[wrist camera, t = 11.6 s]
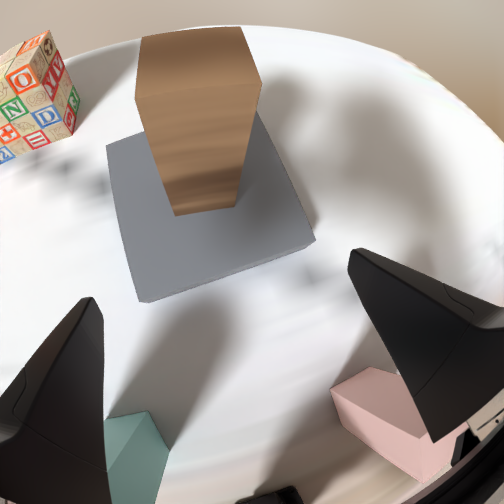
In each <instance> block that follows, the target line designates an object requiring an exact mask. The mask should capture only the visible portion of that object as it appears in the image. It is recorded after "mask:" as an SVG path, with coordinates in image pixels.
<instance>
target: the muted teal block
mask: <svg viewBox="0 0 504 504" xmlns="http://www.w3.org/2000/svg"><path fill="white" fill-rule="evenodd" d="M104 441H105V454H106V465H107V472H108V480H109V487H110V493H111V499H112V504H155V501H156V497H157V494H158V490H159V487H160V483H161V480H162V476H163V473H164V469H165V466H166V462H167V459H168V456H169V452H170V451H169V449H168V448H167V446H166V444H165V442H164V441H163V439H162V437H161V435H160V433H159V431H158V430H157V428H156V426H155V424H154V422H153V420H152V418H151V416H150V414H149V412H148V411H144V412H139V413H135V414H130V415H125V416H120V417H115V418H109V419H106V420H105V421H104Z"/></svg>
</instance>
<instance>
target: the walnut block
mask: <svg viewBox="0 0 504 504" xmlns="http://www.w3.org/2000/svg"><path fill="white" fill-rule="evenodd" d="M261 87H262V82H261V79H260V76H259V73H258V71H257V68H256V65H255V63H254V60H253V57H252V55H251V52H250V49H249V47H248V44H247V42H246V39H245V37H244V34H243V32H242V29H241V27H214V28H201V29H190V30H182V31H175V32H168V33H162V34H156V35H151V36H146V37H142V40H141V47H140V53H139V61H138V69H137V78H136V89H135V102H136V105H137V108H138V112H139V115H140V118H141V121H142V124H143V128H144V131H145V134H146V137H147V140H148V143H149V146H150V149H151V152H152V155H153V158H154V160H155V163H156V166H157V169H158V172H159V175H160V177H161V180H162V183H163V186H164V188H165V191H166V194H167V196H168V199H169V202H170V204H171V207H172V210H173V212H174V215H175V217H176V216H182V215H187V214H193V213H199V212H206V211H212V210H218V209H225V208H231V207H234V206H235V201H236V196H237V192H238V187H239V182H240V178H241V173H242V168H243V164H244V159H245V155H246V150H247V146H248V142H249V137H250V133H251V128H252V124H253V120H254V116H255V111H256V107H257V103H258V99H259V95H260V91H261Z"/></svg>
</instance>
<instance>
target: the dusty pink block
mask: <svg viewBox="0 0 504 504" xmlns="http://www.w3.org/2000/svg"><path fill="white" fill-rule="evenodd" d="M330 392H331V395H332V398H333V401H334V404H335V407H336V409H337V412H338V415H339V418H340V421H341V424H342V426H343V427H344V428H346V429H347V430H348V431H349V432H351V433H352V434H353V435H355V436H356V437H357V438H358V439H360V440H361V441H362V442H364V443H365V444H366V445H368V446H369V447H370V448H372V449H373V450H374V451H376V452H377V453H379V454H380V455H381V456H383V457H384V458H386V459H387V460H388V461H390V462H391V463H393V464H394V465H395V466H397V467H398V468H400V469H401V470H403V471H404V472H406V473H407V474H409V475H410V476H412V477H413V478H415V479H416V480H418V481H420V482H421V483H423V484H424V483H425V482H426V481H428V480H429V479H430V478H431V477H433V476H434V475H435V474H436V473H437V472H438V471H439V470H441V469H442V468H443V467H444V466H445V465H446V464H447V463H448V462H449V461H450V460H452V456H453V452H454V447H455V442H456V437H458V436H459V435H460V434H461V433H462V432H463V431H465V430H466V429H467V428H468V425H467V423H466V421H465V422H464V423H463V424H461V425H460V426H459V427H457V428H456V429H455V430H453V431H452V432H451V433H449V434H448V435H446V436H445V437H443V438H442V439H440V440H439V441H437V442H436V443H434V444H433V442H432V441H431V438H430V436H429V434H428V431H427V429H426V427H425V425H424V422H423V420H422V418H421V416H420V414H419V412H418V409H417V407H416V405H415V403H414V401H413V398H412V396H411V394H410V392H409V390H408V388H407V386H406V384H405V382H404V380H403V378H402V376H401V375H397V374H394V373H390V372H386V371H383V370H380V369H376V368H373V367H368V368H366V369H365V370H363V371H361V372H360V373H358V374H356V375H354V376H353V377H351V378H349V379H347V380H345V381H344V382H342V383H340V384H338V385H336V386H334V387H332V388H330Z"/></svg>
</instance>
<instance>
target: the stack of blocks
mask: <svg viewBox="0 0 504 504" xmlns="http://www.w3.org/2000/svg"><path fill="white" fill-rule="evenodd" d="M79 102H80V98H79V96H78V94H77V92H76V90H75V88H74V86H73V85H72V82H71V80H70V77H69V75H68V73H67V71H66V69H65V65H64V63H63V61H62V58H61V56H60V54H59V51H58V50H57V48H56V46H55V43H54V40H53V38H52V35H51V32H50V30H48V31H46V32H44V33H42V34H40V35H38V36H36V37H34V38H32V39H30V40H28V41H26V42H25V41H24V42H22V43H20V44H18V45H16V46H15V47H13V48H11V49H10V50H8V51H6V52H5V53H4V54H3V55H1V56H0V164H2V163H4V162H6V161H8V160H10V159H13V158H15V157H16V156H19V155H21V154H23V153H26V152H28V151H31V150H34V149H37V148H39V147H42V146H44V145H47V144H50V143H52V142H56V141H58V140H61V139H64V138H67V137H70V136H72V135H73V130H74V125H75V120H76V114H77V110H78V106H79Z"/></svg>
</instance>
